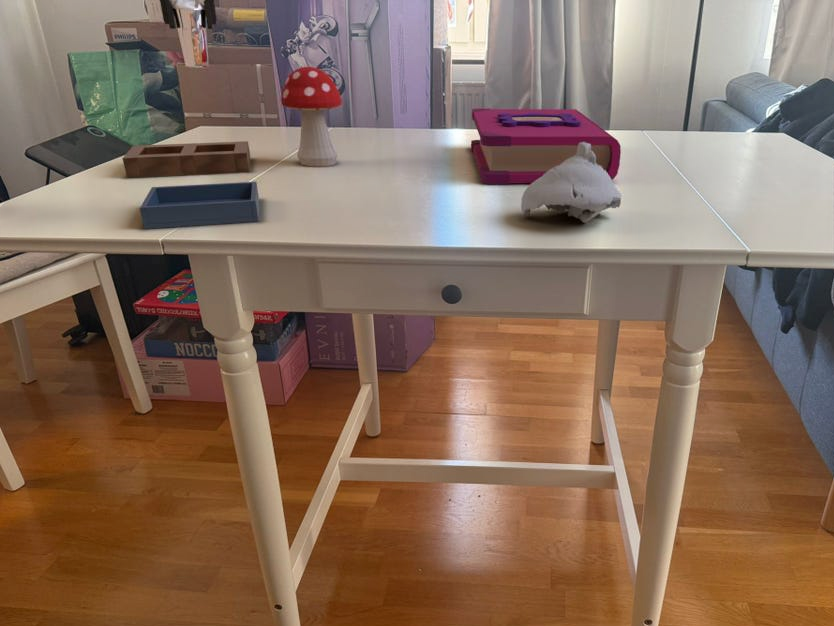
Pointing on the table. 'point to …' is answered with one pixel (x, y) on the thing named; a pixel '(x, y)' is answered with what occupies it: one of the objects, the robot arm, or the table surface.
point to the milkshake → (192, 32)
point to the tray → (200, 205)
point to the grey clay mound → (573, 187)
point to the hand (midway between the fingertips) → (191, 28)
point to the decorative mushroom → (312, 113)
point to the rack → (187, 159)
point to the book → (536, 143)
